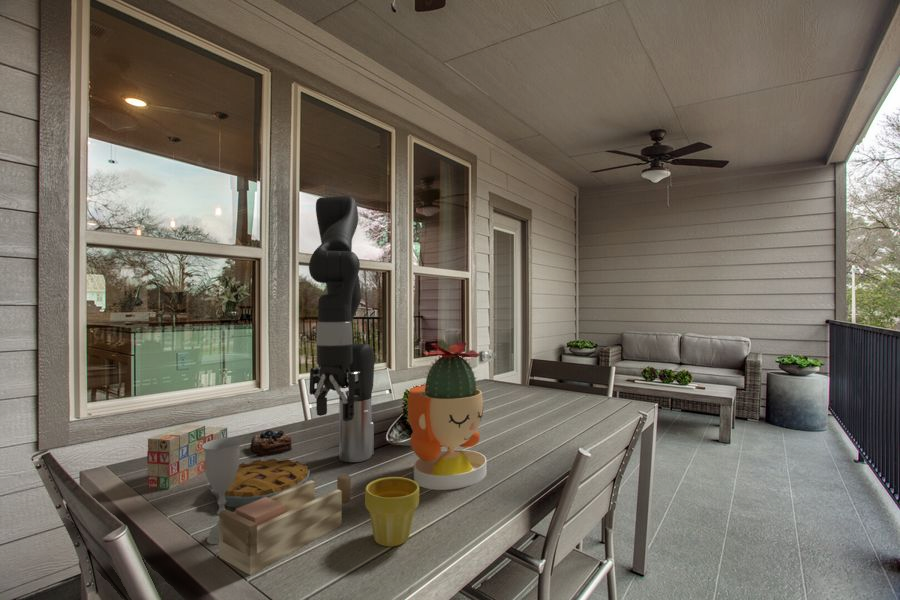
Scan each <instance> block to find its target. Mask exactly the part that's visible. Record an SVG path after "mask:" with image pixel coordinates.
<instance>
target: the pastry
mask: <svg viewBox="0 0 900 600" xmlns="http://www.w3.org/2000/svg"><path fill="white" fill-rule="evenodd" d="M292 444H293V443H292V437H290V436H289V435H286V434H285V433H284V431H283V430H279V431H274V430H272V429H267V430H266V432H262V433H261V434H257V435H254V436H253V437H252V439H251V443H250V445H249V446H250V450H251V451H252V452H253V454H255V456H256V457H268V456H273V455H278V454H282V453H288V452H290V451H293V450H292Z"/></svg>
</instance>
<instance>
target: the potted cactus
mask: <svg viewBox="0 0 900 600" xmlns="http://www.w3.org/2000/svg"><path fill="white" fill-rule="evenodd" d="M429 345H431V347H432V348H434V349H436V350H430V351H427V350H425V351H424V352H423V354H424V355H425V356H429V357H437V358H434V360H433V361H431V363H430V365H429V366H428V367H426V368H427V369H428V371H426V372H425V373H426V376H425V379H426V380H425V382H423V385H420V386H414V387H412V388H410V389H409V390H408V391H409V392H408V396H407V417H408V422H409V425H410V428H411V430H412V433H411V435H410V447H411V450H412V451H413V452H414V453H415V456H417V457H418V459H417V460H416V461H415V462H414V464H413V481H415V482H416V483H417V484H418V485H419V487H421V488H424V489H427V490H436V491H444V490H446V491H447V490H456V489H462V488H466V487H470V486H472V485H476V484H477V483H479V482H481V481H482V480H483V479H484V478H485V477H486V476H487V473H488V472H487V466H488V465H487V457H486V456H485V455H484V454H482V453H481V452H478V451H476V450H475V451H474V450H469V449H456V447H461V448H471V447H472V448H473V447H474V446H476V445H477V444H478V443H479V442H480V433H479V431H478V428H479V426H480V424H481V420H482V417H483V414H484V400H483V392H482V390H480V388H479V387H478V386H477V385H478V383H477V379H478V377H477V376H476V375H475V374H476V373H477V372H476V371H474V368H475V367H474V366H475V365H472V366H471V362H468V360H469V359H468V358H478V357H479V356H480V353H478V352H476V350H474V349H471V350H468V351H466V352H465V347H466V346H467V343H466V342H465V341H462V342H460V343H457V342H455V343H453V344H452V345H450V346H448V345H446V346H445V349H444V348H443V347H440V346H439V345H438V344H437V343H432V342H431V343H429ZM431 365H432V366H431ZM442 447H444V448H447V450H442Z"/></svg>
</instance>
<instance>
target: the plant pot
mask: <svg viewBox="0 0 900 600" xmlns="http://www.w3.org/2000/svg"><path fill="white" fill-rule="evenodd" d="M419 503H420V486H419V485H418V484H417V483H416V482H415V481H414V479H413V480H412V479H410V478H408V477H407V478H406V477H403V476H402V477H400V476H388V477H382V478H381V477H380V478H376V479H375V480H372V481H370V482H369V483H368V484H367V485H366V486H365V492H364V505H365V508H366V510H367V511H368V513H369V517H370V524H371V528H372V529H371V530H372V533H373V539H374V541H375V542H376V544H378V545H380V546H382V547H398V546H400V545H403V544H405V543H406V542H408V540H409V537H410V533H411V528H412V524H413V519H414V514H415V510H416V509H417V508H418V506H419Z"/></svg>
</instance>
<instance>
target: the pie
mask: <svg viewBox="0 0 900 600" xmlns="http://www.w3.org/2000/svg"><path fill="white" fill-rule="evenodd" d="M310 472H311V471H310V470H309V468H308V466H307V465H306V464H305V465H303V464H302V462H300V461H299V460H297V461H295V462H294V461H292V460H291V459H283V460H277V459H276V458H271V459H267V460H261V459H256V460H252V461H251V462H249V463H239V468H238V471H237V474H236V477H235V479H234V481H233V483H232V485H231V487H230V489H229V490H227V491H225V495H224V496H225V500H226V503H225V506H227V507H230V508H235V509H237V508H239V507H242V506H244V505H247V504H249V503H252V502H254V501H257V500H259V499H262V498H264V497H267V498H269V497H271V496H274V495H276V494H279V493H281V492H284V491H286V490H289V489H291V488H293V487H296V486H298V485H301V484H303V483H306V481H307V480H308V478H309V476H310ZM208 489H209V490H210V491H211V494H213V495H214V496H215V499H216V500H217V502H218V501H219V497H220V496H219V493H217V492H214V490H213V488H212V487H211V485H210V484H209V485H208Z"/></svg>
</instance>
